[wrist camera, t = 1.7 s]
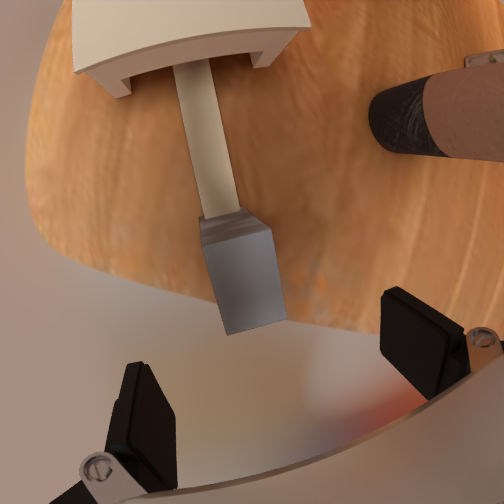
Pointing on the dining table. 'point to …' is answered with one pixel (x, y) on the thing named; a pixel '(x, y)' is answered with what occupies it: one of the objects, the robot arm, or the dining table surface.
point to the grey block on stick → (227, 213)
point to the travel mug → (444, 114)
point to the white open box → (176, 34)
